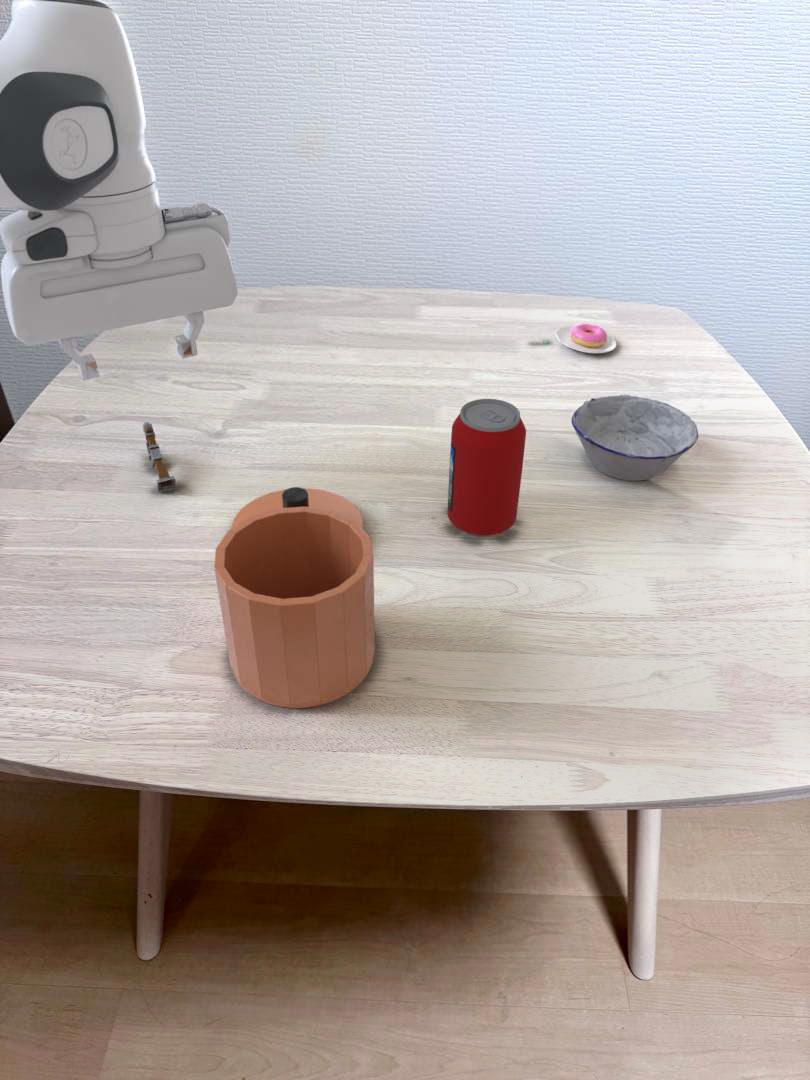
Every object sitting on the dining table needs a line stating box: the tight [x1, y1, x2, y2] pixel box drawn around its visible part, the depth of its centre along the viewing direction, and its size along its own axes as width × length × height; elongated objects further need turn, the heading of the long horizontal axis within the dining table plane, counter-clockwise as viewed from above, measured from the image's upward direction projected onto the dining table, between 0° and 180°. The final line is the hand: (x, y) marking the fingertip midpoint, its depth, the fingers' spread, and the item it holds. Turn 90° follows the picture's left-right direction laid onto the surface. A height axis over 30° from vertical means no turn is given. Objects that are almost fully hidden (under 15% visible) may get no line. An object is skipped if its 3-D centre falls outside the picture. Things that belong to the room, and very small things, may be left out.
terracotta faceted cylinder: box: [214, 507, 376, 709], centre depth 65 cm, size 11×11×10 cm
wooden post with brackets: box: [142, 421, 177, 493], centre depth 88 cm, size 2×8×4 cm, turn 26°
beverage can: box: [447, 398, 527, 537], centre depth 79 cm, size 7×7×12 cm
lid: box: [230, 486, 364, 530], centre depth 79 cm, size 12×12×5 cm
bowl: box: [571, 394, 699, 482], centre depth 90 cm, size 13×13×5 cm
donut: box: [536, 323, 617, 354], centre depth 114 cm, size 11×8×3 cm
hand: (140, 365), depth 81 cm, fingers open, 8 cm apart
